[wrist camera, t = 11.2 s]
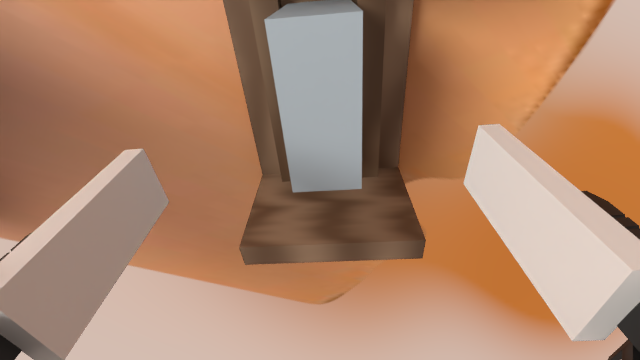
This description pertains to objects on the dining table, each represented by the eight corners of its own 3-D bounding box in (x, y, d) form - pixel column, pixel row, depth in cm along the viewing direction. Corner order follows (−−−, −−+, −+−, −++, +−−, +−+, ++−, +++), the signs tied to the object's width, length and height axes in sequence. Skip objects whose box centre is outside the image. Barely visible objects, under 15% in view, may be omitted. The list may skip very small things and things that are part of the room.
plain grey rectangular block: (302, 127, 27) (292, 192, 19) (287, 3, 21) (264, 19, 13) (350, 124, 27) (361, 188, 19) (348, -2, 21) (362, 11, 13)
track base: (268, 183, 32) (245, 264, 23) (201, -117, 19) (83, -208, 10) (394, 176, 32) (422, 258, 22) (421, -143, 18) (522, -268, 9)
